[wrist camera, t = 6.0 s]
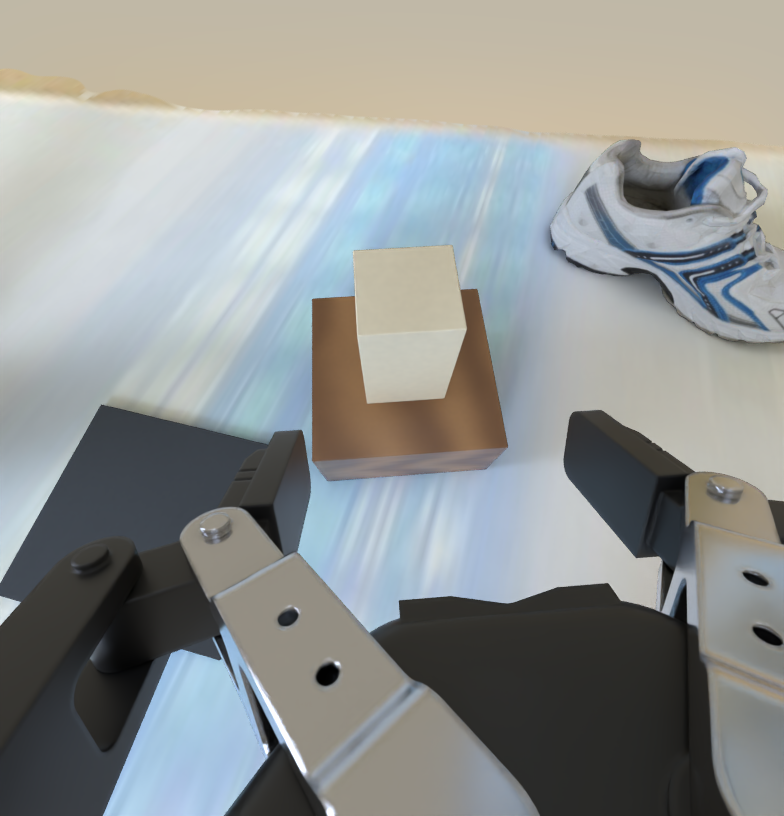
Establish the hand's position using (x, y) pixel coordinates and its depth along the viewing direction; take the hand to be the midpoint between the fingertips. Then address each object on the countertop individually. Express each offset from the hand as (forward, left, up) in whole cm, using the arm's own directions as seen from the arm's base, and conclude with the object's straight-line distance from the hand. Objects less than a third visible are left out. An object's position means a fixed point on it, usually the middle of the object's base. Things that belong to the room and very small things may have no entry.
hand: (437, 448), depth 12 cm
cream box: (-3, +9, -12) cm, 15 cm away
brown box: (-3, +9, -18) cm, 20 cm away
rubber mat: (-18, -4, -18) cm, 25 cm away
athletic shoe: (+18, +27, -18) cm, 37 cm away
